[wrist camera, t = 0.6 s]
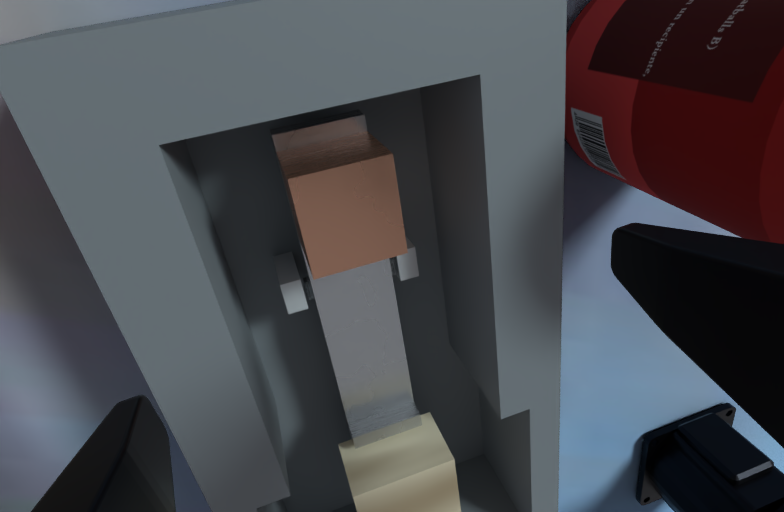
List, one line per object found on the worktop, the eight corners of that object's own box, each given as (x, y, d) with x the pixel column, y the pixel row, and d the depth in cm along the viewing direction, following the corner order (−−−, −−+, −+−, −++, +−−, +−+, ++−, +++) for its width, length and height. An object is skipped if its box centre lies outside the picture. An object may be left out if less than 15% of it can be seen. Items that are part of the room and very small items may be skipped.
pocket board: (504, 453, 29) (557, 538, 24) (271, 541, 26) (283, 653, 22) (475, -42, 17) (567, -53, 13) (49, 32, 15) (-21, 49, 10)
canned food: (660, 184, 24) (954, 309, 14) (515, 149, 21) (767, 280, 11) (746, 4, 21) (1182, 14, 12) (593, -67, 18) (1016, -132, 8)
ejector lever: (428, 484, 25) (457, 548, 22) (365, 508, 25) (385, 577, 22) (364, 108, 16) (397, 133, 13) (262, 130, 16) (274, 162, 13)
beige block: (440, 482, 24) (463, 532, 22) (358, 514, 23) (373, 569, 21) (429, 411, 22) (454, 459, 20) (337, 444, 21) (352, 497, 19)
